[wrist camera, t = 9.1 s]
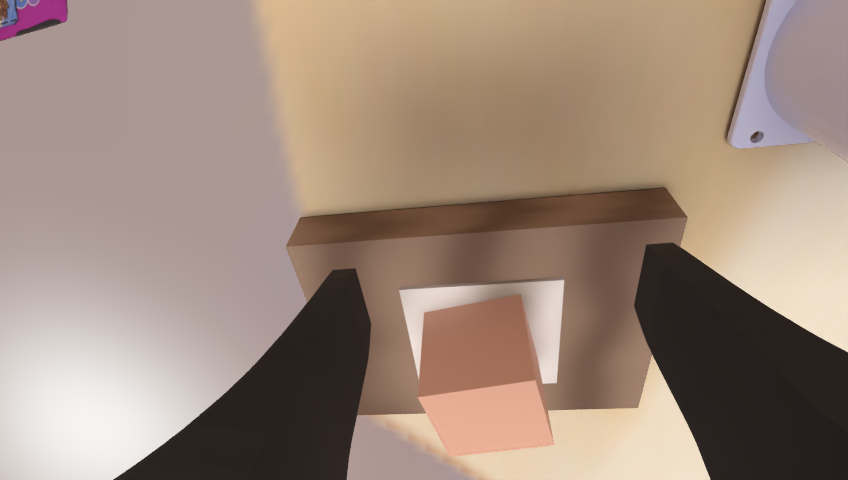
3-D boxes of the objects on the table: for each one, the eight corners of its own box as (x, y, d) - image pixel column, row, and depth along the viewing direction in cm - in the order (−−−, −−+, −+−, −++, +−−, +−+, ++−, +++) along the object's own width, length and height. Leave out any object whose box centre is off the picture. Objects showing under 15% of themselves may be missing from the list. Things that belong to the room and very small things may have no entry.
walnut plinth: (665, 187, 21) (689, 219, 19) (625, 373, 29) (639, 410, 27) (300, 217, 23) (284, 249, 21) (358, 382, 31) (351, 418, 29)
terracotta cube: (520, 294, 22) (535, 380, 18) (537, 357, 25) (554, 445, 21) (424, 312, 23) (417, 397, 19) (450, 371, 26) (450, 456, 22)
